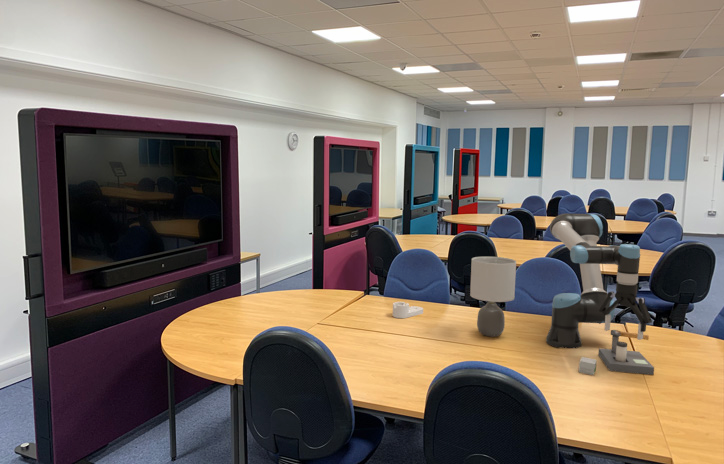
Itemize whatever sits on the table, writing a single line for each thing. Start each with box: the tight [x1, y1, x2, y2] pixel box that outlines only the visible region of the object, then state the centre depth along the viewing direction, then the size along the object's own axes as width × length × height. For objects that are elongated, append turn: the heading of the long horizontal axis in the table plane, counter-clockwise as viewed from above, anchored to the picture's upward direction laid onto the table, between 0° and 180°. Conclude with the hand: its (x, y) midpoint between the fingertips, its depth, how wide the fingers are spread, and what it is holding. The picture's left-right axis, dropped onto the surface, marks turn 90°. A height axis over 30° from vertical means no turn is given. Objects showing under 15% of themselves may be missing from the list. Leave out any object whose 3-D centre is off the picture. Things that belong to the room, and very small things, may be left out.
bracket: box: [392, 301, 424, 319], centre depth 274 cm, size 20×9×7 cm, turn 130°
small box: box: [578, 356, 598, 376], centre depth 197 cm, size 6×6×5 cm
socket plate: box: [597, 335, 655, 376], centre depth 205 cm, size 16×18×10 cm
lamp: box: [469, 256, 517, 337], centre depth 240 cm, size 21×21×37 cm
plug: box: [615, 341, 628, 362], centre depth 203 cm, size 4×4×10 cm
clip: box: [610, 329, 650, 341], centre depth 209 cm, size 4×14×2 cm, turn 64°
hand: (623, 334), depth 201 cm, fingers open, 13 cm apart
